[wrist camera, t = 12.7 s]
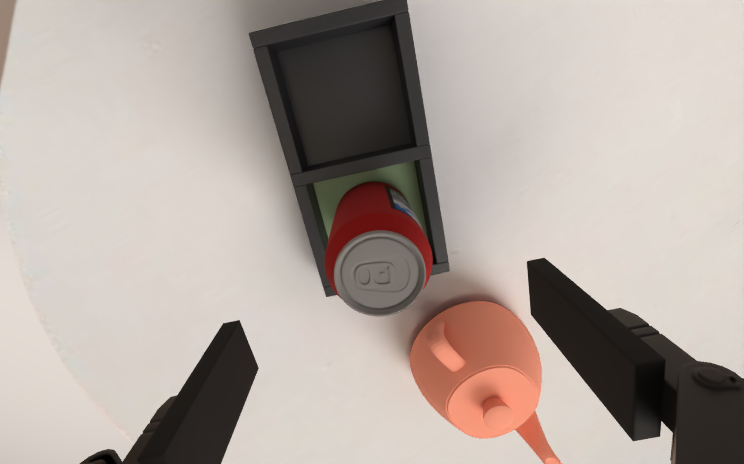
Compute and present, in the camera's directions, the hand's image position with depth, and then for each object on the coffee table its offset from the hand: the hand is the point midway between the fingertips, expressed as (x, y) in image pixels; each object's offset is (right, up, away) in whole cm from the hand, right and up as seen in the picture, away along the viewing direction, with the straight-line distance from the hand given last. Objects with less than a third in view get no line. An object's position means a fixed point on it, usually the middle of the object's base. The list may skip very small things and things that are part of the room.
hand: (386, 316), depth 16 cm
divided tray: (-2, +10, +15) cm, 18 cm away
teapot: (+10, -9, +22) cm, 26 cm away
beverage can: (-1, +5, +16) cm, 17 cm away
